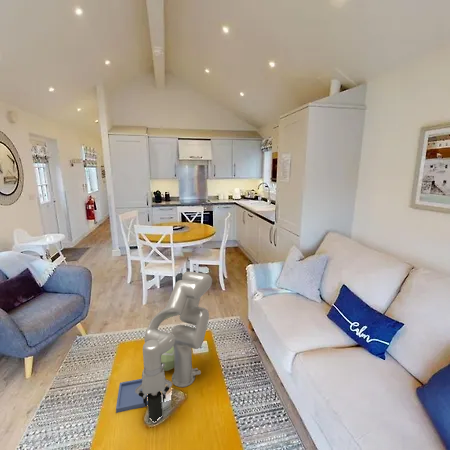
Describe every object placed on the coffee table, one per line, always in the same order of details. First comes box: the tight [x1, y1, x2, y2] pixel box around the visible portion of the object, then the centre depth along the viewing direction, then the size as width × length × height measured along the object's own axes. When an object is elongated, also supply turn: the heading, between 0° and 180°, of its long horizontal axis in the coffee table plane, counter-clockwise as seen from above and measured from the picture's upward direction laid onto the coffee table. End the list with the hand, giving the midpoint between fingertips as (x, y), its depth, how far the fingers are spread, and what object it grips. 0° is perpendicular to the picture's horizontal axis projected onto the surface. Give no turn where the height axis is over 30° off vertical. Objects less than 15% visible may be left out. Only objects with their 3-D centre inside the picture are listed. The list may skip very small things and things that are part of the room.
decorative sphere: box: [161, 347, 174, 372], centre depth 151 cm, size 15×15×15 cm
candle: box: [147, 391, 163, 422], centre depth 119 cm, size 5×5×25 cm
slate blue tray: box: [115, 378, 148, 414], centre depth 133 cm, size 16×16×2 cm
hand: (154, 401), depth 120 cm, fingers open, 7 cm apart
